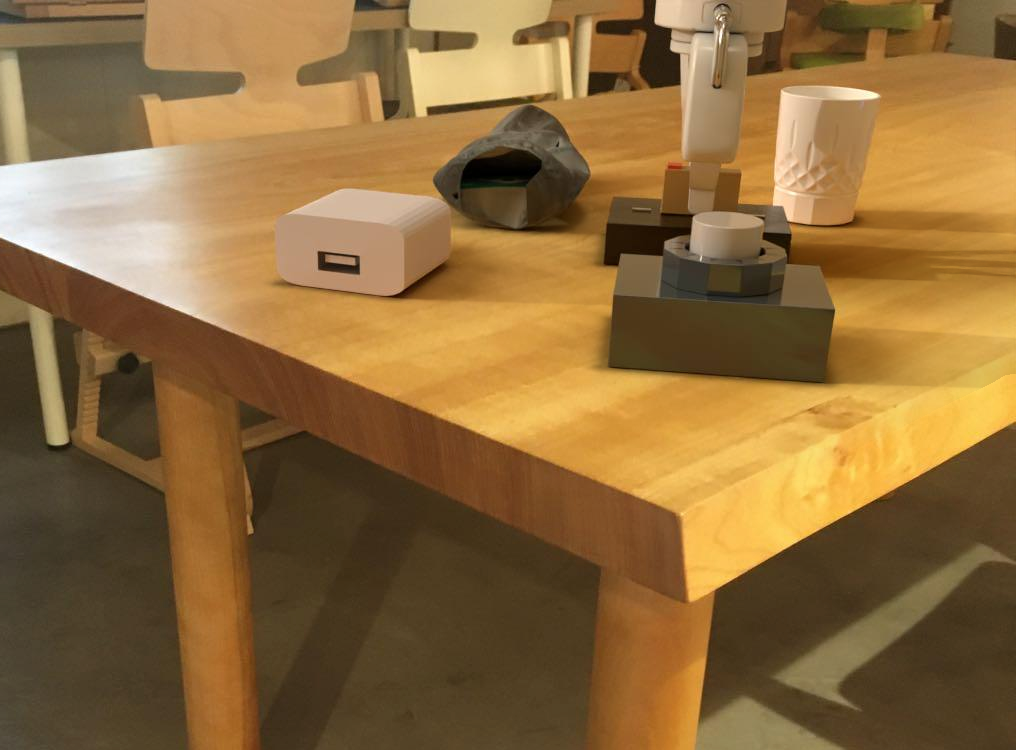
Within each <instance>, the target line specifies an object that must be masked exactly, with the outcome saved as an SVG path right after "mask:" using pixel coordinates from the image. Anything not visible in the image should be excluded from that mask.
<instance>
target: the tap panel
mask: <svg viewBox="0 0 1016 750" xmlns="http://www.w3.org/2000/svg"><path fill="white" fill-rule="evenodd" d="M661 202H662V198H647V197H646V198H645V197H633V196H632V197H631V196H612V198H611V203H610V207H609V212H608V216H607V220H606V227H605V241H604V242H605V243H604V253H603V264H604V265H610V266H611V265H612V266H619V260H620V255H621V254H634V255H650V256H663V249H664V242H665V241H667V240H670V239H673V238H676V237H679V236H684V235H691V227H692V218H693V217H694V216H695V215H683V214H665V213H661ZM737 213H742V214H747V215H752V216H755V217H758V218H760V219H761V220H763V222H764V228H763V236H762V240H766V241H768V242H770V243H773V244H775V245H777V246H779V247H782V248H784V249H785V252H786V255H787V262H786V264H789V260H790V253H791V252H790V251H791V245H792V238H793V233H792V230H791V227H790V224H789V223H790V222H789V221H788V220H787V217H786V214H785V211H784V207H783V206H773V204H772V205H770V204H754V203H738V207H737Z"/></svg>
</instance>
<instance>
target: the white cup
mask: <svg viewBox="0 0 1016 750" xmlns="http://www.w3.org/2000/svg"><path fill="white" fill-rule="evenodd" d="M881 99H882V95H881V94H880V93H877V92H875V91H870V90H865V89H861V88H854V87H843V86H833V85H832V86H831V85H795V86H794V85H793V86H786V87H783V88H782V89H781V90H780V98H779V107H778V119H777V129H776V130H777V131H776V139H775V140H776V141H775V157H774V170H773V171H774V173H773V182H774V186H773V199H772V205H773V206H783V207H784V211H785V214H786V217H787V220H788V222H789V223H790V222H791V223H795V224H803V225H812V226H838V225H845V224H847V223H850V222H853V220H854V215H855V211H856V207H857V200H858V196H859V190H860V189H861V188H862V187H863V179H864V176H865V173H866V169H867V165H868V160H869V156H870V150H871V146H872V142H873V137H874V131H875V128H876V123H877V118H878V113H879V108H880V105H881Z"/></svg>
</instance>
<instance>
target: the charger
mask: <svg viewBox="0 0 1016 750" xmlns="http://www.w3.org/2000/svg"><path fill="white" fill-rule="evenodd" d="M274 240H275V241H274V244H275V262H276V272H277V275H278V276H279V277H280V278H281V279H283V280H284V281H285V282H287V283H290V284H292V285H297V286H303V287H310V288H318V289H319V288H320V289H325V290H334V291H341V292H349V293H358V294H364V295H365V294H367V295H374V296H383V297H389V296H395V295H397V294H400V293H402V292H403V291H404V290H406V289H407V288H408V287H410V286H412V285H413V284H415V283H416V282H417V281H418V280H420V279H423V277H424V276H426V275H428V274H429V273H430V272H432V271H433V270H434V269H436V268H437V267H439V266H440V265H442V264H443V263H445V262H447V260H448V259H449V258H450V257H451V251H452V250H451V249H452V248H451V244H452V209H451V206H450V204H449V203H448V202H446V201H444V200H442V199H440V198H437V197H433V196H428V195H420V194H408V193H399V192H389V191H381V190H372V189H371V190H370V189H360V188H341V189H338V190H335V191H334V192H331V193H328V194H327V195H325V196H323V197H320V198H318V199H315V200H313V201H311V202H310V203H306V204H305V205H303V206H300V207H298V208H296V209H294V210H292V211H289V212H287V213H286V214H283V215H281V216H279V217H277V219H275V221H274Z"/></svg>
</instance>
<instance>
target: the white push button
mask: <svg viewBox="0 0 1016 750" xmlns="http://www.w3.org/2000/svg"><path fill="white" fill-rule="evenodd" d="M763 228H764V222H763V220H761V219H760V218H758V217H755V216H752V215H747V214H742V213H735V212H705V213H700V214H697V215H695V216H694V217H693V218H692V227H691V237H690V246H689V251H690V252H692V253H694V254H697V255H702V256H706V257H711V258H719V259H735V260H740V259H751V258H758V257H760V251H761V243H762V236H763Z"/></svg>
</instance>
